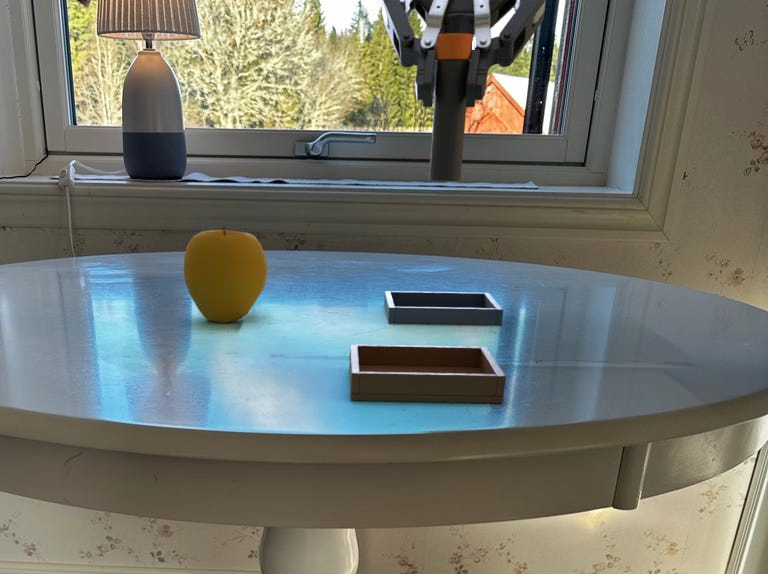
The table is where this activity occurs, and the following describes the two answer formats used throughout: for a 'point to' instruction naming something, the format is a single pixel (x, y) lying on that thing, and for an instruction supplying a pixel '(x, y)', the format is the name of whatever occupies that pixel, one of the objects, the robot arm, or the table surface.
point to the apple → (224, 273)
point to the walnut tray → (425, 374)
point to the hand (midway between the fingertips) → (449, 97)
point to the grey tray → (442, 308)
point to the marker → (450, 106)
